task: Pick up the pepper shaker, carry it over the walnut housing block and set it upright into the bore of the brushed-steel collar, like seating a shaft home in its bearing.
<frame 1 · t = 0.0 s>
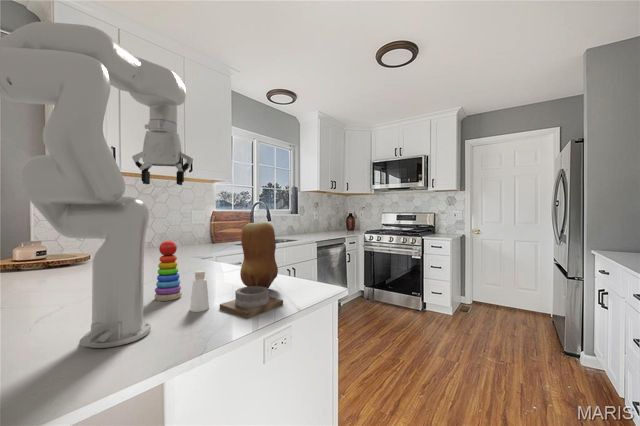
hand: (163, 184, 88), 37 cm above the counter, tool pointing down, fingers open, 9 cm apart
butternut squash: (259, 291, 103), on the counter
pepper shaker: (199, 309, 83), on the counter
stacking toy: (168, 298, 94), on the counter
shaft housing: (252, 307, 85), on the counter
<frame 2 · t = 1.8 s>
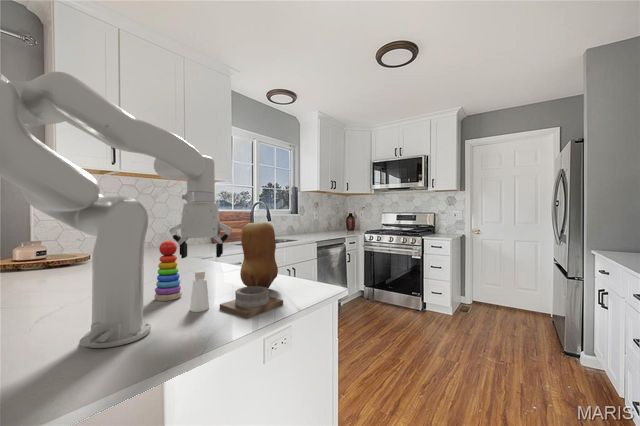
hand: (201, 257, 84), 15 cm above the counter, tool pointing down, fingers open, 9 cm apart
nothing on the counter moved.
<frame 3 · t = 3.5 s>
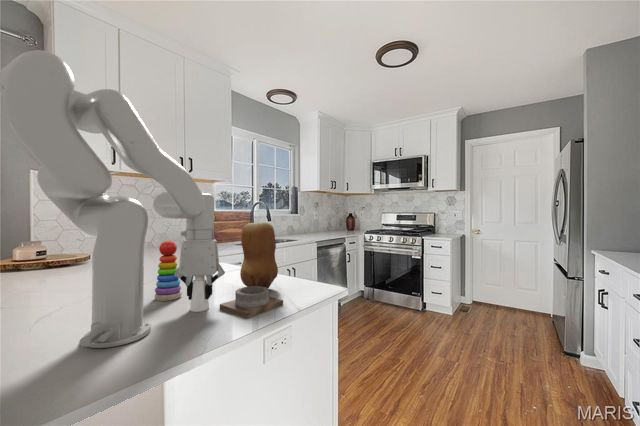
hand: (199, 297, 83), 3 cm above the counter, tool pointing down, fingers closed on pepper shaker, 4 cm apart
pepper shaker: (199, 309, 83), on the counter, touching gripper
everything else where it was.
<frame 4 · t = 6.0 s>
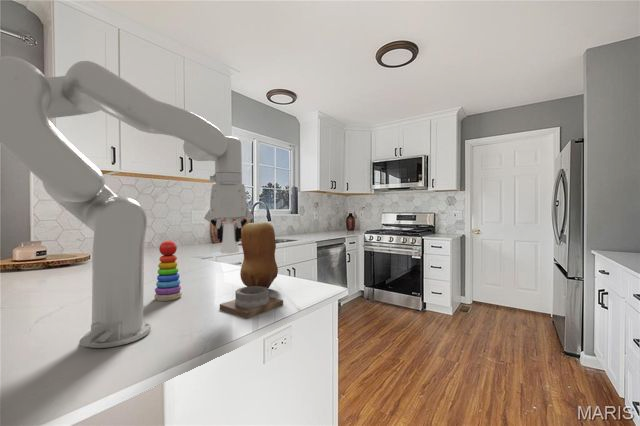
hand: (229, 240, 85), 20 cm above the counter, tool pointing down, fingers closed on pepper shaker, 4 cm apart
pepper shaker: (229, 252, 85), point 16 cm above the counter, touching gripper
everything else where it was.
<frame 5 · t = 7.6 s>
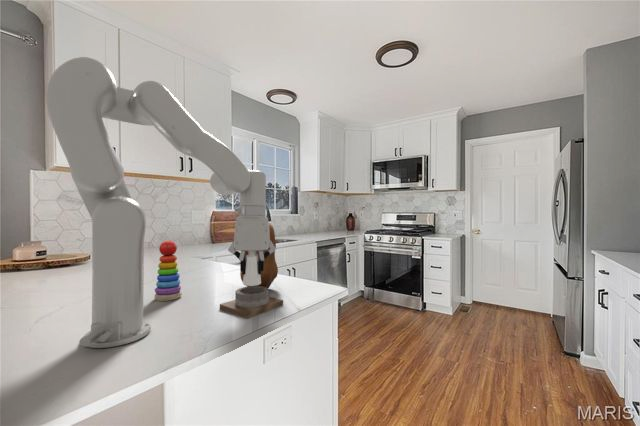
hand: (252, 272, 85), 10 cm above the counter, tool pointing down, fingers closed on pepper shaker, 4 cm apart
pepper shaker: (252, 284, 85), point 7 cm above the counter, touching gripper
everything else where it was.
when the fingers open (6 cm above the counter, at t = 8.8 s): pepper shaker drops 1 cm, resting on shaft housing.
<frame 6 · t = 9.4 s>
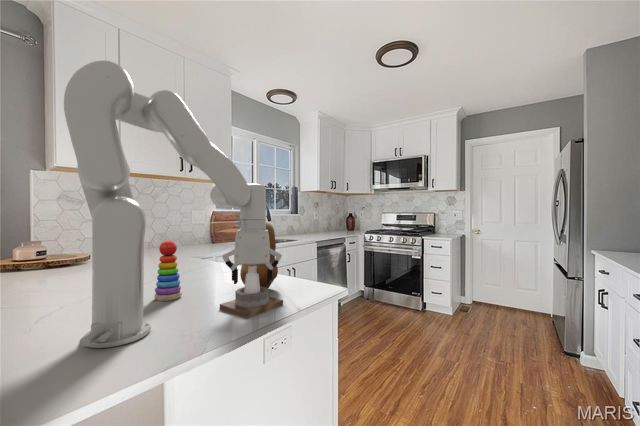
hand: (252, 282, 85), 7 cm above the counter, tool pointing down, fingers open, 9 cm apart
pepper shaker: (252, 302, 85), point 1 cm above the counter, touching shaft housing
everything else where it was.
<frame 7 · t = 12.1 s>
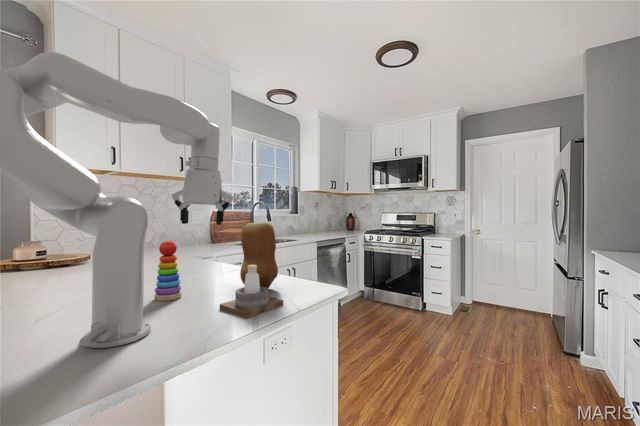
hand: (201, 224, 83), 25 cm above the counter, tool pointing down, fingers open, 9 cm apart
nothing on the counter moved.
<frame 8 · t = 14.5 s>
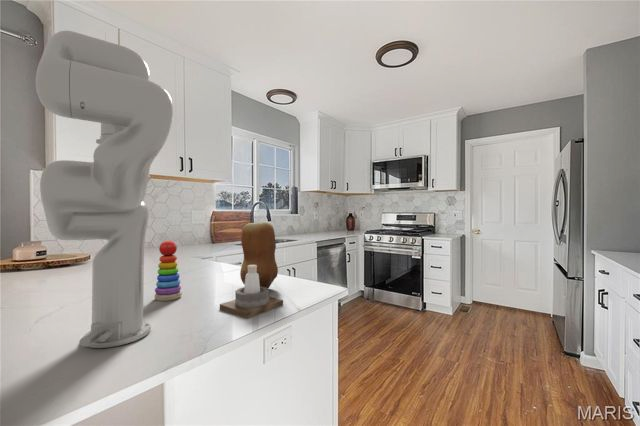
hand: (116, 204, 81), 30 cm above the counter, tool pointing down, fingers open, 9 cm apart
nothing on the counter moved.
at the end: pepper shaker 0.0 cm off-centre on the shaft housing, point 1.3 cm above the shaft housing's base; pepper shaker tilted 0°; the gripper is holding nothing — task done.
